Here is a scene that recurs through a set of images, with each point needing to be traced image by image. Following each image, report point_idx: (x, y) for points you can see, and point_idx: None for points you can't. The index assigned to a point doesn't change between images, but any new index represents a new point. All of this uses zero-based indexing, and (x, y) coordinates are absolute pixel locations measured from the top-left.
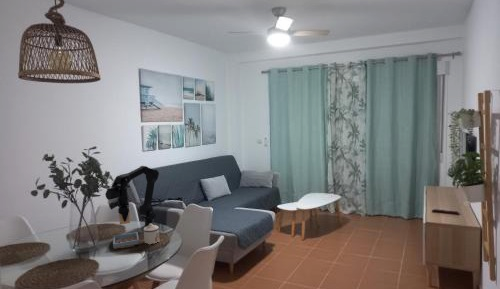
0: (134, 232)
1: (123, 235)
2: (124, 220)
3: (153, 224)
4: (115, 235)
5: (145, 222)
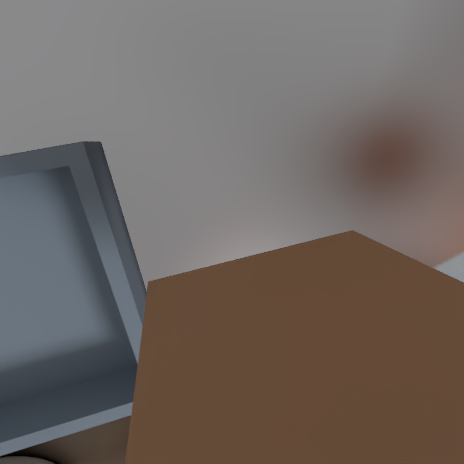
0: None
1: (108, 265)
2: None
3: None
4: (88, 166)
5: None
